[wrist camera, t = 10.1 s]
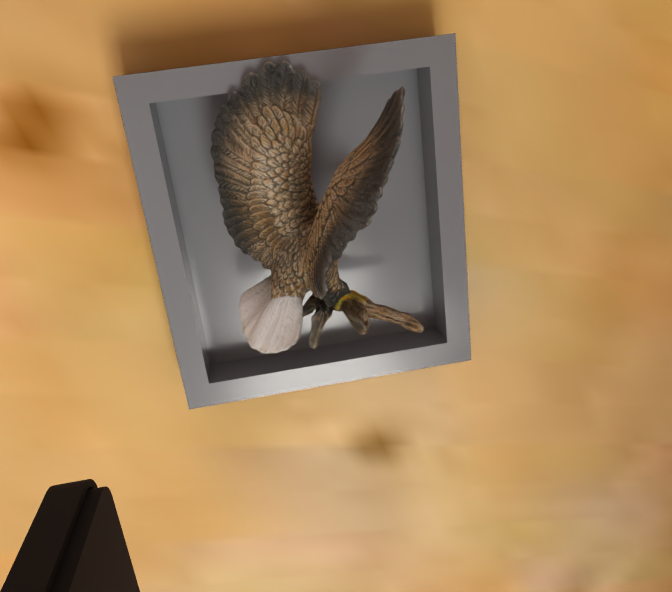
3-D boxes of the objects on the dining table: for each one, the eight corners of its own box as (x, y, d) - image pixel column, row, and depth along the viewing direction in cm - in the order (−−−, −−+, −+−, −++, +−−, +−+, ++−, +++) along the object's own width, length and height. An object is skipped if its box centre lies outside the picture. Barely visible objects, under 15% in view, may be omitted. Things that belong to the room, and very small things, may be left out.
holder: (435, 35, 25) (455, 33, 23) (453, 337, 30) (471, 359, 27) (124, 75, 24) (112, 76, 22) (193, 382, 28) (189, 409, 26)
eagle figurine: (449, 260, 26) (441, 50, 20) (401, 399, 22) (372, 188, 16) (282, 238, 29) (229, 46, 23) (209, 359, 25) (117, 163, 18)
